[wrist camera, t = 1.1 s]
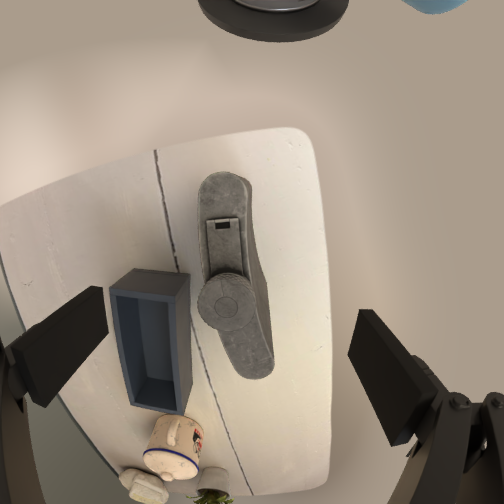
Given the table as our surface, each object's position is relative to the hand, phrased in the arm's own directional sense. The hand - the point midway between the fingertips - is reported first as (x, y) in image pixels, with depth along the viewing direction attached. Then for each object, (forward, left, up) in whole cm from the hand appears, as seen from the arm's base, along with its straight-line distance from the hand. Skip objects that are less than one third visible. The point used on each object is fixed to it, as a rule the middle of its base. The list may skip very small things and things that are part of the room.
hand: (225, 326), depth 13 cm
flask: (0, 0, -20) cm, 20 cm away
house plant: (+51, -2, -20) cm, 55 cm away
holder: (+13, -10, -20) cm, 26 cm away
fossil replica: (+59, -20, -20) cm, 65 cm away
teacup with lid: (+33, -9, -20) cm, 40 cm away
